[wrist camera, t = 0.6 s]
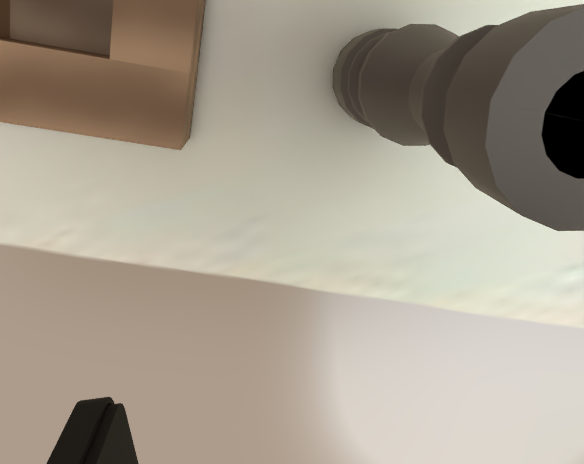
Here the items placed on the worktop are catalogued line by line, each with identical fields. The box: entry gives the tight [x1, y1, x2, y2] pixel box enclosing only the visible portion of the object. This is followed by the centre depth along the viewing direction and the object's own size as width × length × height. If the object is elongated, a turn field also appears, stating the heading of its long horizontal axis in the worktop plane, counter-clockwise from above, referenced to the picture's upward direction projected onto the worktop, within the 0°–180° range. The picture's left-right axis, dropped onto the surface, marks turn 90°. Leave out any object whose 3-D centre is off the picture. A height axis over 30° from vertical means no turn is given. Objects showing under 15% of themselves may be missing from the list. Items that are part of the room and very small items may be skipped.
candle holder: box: [333, 4, 584, 231], centre depth 26 cm, size 6×6×25 cm
